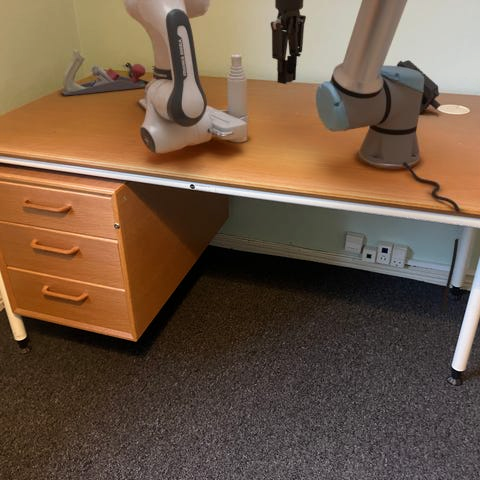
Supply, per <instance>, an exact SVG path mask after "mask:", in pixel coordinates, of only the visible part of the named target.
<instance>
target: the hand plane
mask: <svg viewBox="0 0 480 480" xmlns="http://www.w3.org/2000/svg"><path fill="white" fill-rule="evenodd" d="M85 59H86V58H85V56H84V55H83V54H82V53H81V52H80V51H79V50H77V49H76V48H73V50H72V58H71V62H70V63H69V65H68V67H67V68H66V70H65V72H64V74H63V80H62V84H63V88H62V90H61V93H62V95H63V96H74V95H84V94H94V93H104V92H112V91H113V92H114V91H121V90H132V89H142V88H145V87H146V83H144V82H143V81H137V80H138V79H141V78H142V77H144V76H145V75H146V68H145V66H143V65H141V64H139V63H134V64H133V65H131V66H132V72H131V73H132V75H133V76H132V77H126V76H123V75H120V74H119V73H117V72H116V71H114V70H113V69H112V68H111V67H109V68H108V70H107V71H105V70H104V69H103V68H102V67H100V65H94V66H92V68H91V70H90V72H91V75H93V76H94V77H97V78H95V79H90V81H89V82H86V83H80V84H78V83H77V82H76V81H75V78H76V74H77V72H78V71H79V69H80V68H81V66H82V65H83V63H84V61H85Z"/></svg>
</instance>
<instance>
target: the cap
mask: <svg viewBox="0 0 480 480" xmlns="http://www.w3.org/2000/svg"><path fill="white" fill-rule="evenodd" d="M292 82H294V80H293V72H290V71H287V83H292Z"/></svg>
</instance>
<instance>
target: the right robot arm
mask: <svg viewBox="0 0 480 480" xmlns="http://www.w3.org/2000/svg"><path fill="white" fill-rule="evenodd" d="M407 3H408V0H361V2H360V6H359V8H358V9H359V10H358V12H357V16H356V19H355V22H354V26H353V29H352V32H351V35H350V38H349V41H348V45H347V49H346V51H345V52H346V53H345V55H344V58H343V61H342V62H340V63H339V64H337V65H336V66H335V67H334V68H333V71H332V74H331V77H330V80H329V81H324V82H322V83H320V84H318V86H317V89H316V92H315V106H316V111H317V114H318V117H319V119H320V121H321V123H322V125H323V126H324V127H325V128H326V129H327V130H329V131H331V132H347V131H351V130H356V129H361V128H366V127H368V130H367V132H366V135H364V136H365V137H364V138H363V141H362V143H361V145H360V147H359V151H358V159H359V160H360V162H362V163H363V164H364V165H367V166H369V167H372V168H374V169H378V170H385V171H403V170H408V171H409V173H410V174H411V175H412V177H413V178H414V179H415V180H417V181H418V182H421V183H425V184H430V185H434V186H435V187H434V189H433V190H432V191H431V195H432V197H433V198H435V199H437V200H439V201H444V202H447V203H449V204H451V205H452V206H453V207H454V209H455V211H456V213H457V212H458V213H460V212H461V210H460V208H459V206H458V204H457V203H456V201H454V200H453V199H451V198H448V197H444V196H440V195H438V194H436V193H437V192H438V190H440V188H441V187H440V184H439V183H438V182H437V181H434V180H430V179H424V178H421V177H419V176H418V175H417V174H416V173H415V172H414V169H412V168H414V167H416V166H418V164H419V163H420V158H421V156H420V155H421V153H420V151H421V150H420V146H419V140H418V135H417V130H418V124H419V119H420V117H419V116H420V113H419V112H420V107H421V101H422V96H423V92H424V90H423V87H424V76H423V75H422V74H421V73H420V72H418V71H416V70H413V69H409V68H404V67H399V66H397V65H385V61H386V59H387V56H388V54H389V51H390V48H391V45H392V43H393V40H394V37H395V34H396V33H397V30H398V27H399V24H400V22H401V19H402V16H403V13H404V12H405V8H406V6H407ZM274 8H275V9H276V10H277V16H276V20H275V21H274V20H273V21H271V22H270V28H271V57H272V59H274V60H276V63H277V64H276V66H277V67H276V71H277V81H276V82H277V83H278V84H282V85H287V83H288V82H287V71H290V72H293V81H296V79H297V78H296V77H297V66H298V65H297V63H298V57H301V55H302V54H301V53H302V52H303V46H304V45H303V44H304V33H305V24H306V23H305V22H306V19H307V17H306V15H303V14H301V11H300V10H302V9H303V8H304V0H274ZM287 51H288V54H289V55H287ZM286 58H287V59H286ZM459 239H460V238H459V237H458V238H456V239H454V245H453V252H452V260H451V264H450V268H449V273H448V278H447V281H446V285H445V288H444V289H445V290H444V293H443V298H442V303H441V307H440V313H444V312H445V308H446V303H447V299H448V295H449V291H450V286H451V282H452V279H453V274H454V270H455V265H456V261H457V260H456V259H457V254H458V249H459Z"/></svg>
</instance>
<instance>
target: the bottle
mask: <svg viewBox="0 0 480 480" xmlns="http://www.w3.org/2000/svg"><path fill="white" fill-rule="evenodd" d="M242 56H243V55H241V54H231V56H230V58H231V65H230V68H229V71H228V74H227V78H226V88H227V89H226V91H227V93H226V94H227V110H228V115H231V116H233V117H235V118H239V119H240V118H241V116H244V115H245V116H248V78H247V74H246V72H245V69H244V68H243V67H244V66H243V65H242ZM247 140H248V133H247V134H246V135H245V136H243V137H239V138H234V139H228V141H230V142H231V143H244V142H247Z"/></svg>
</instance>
